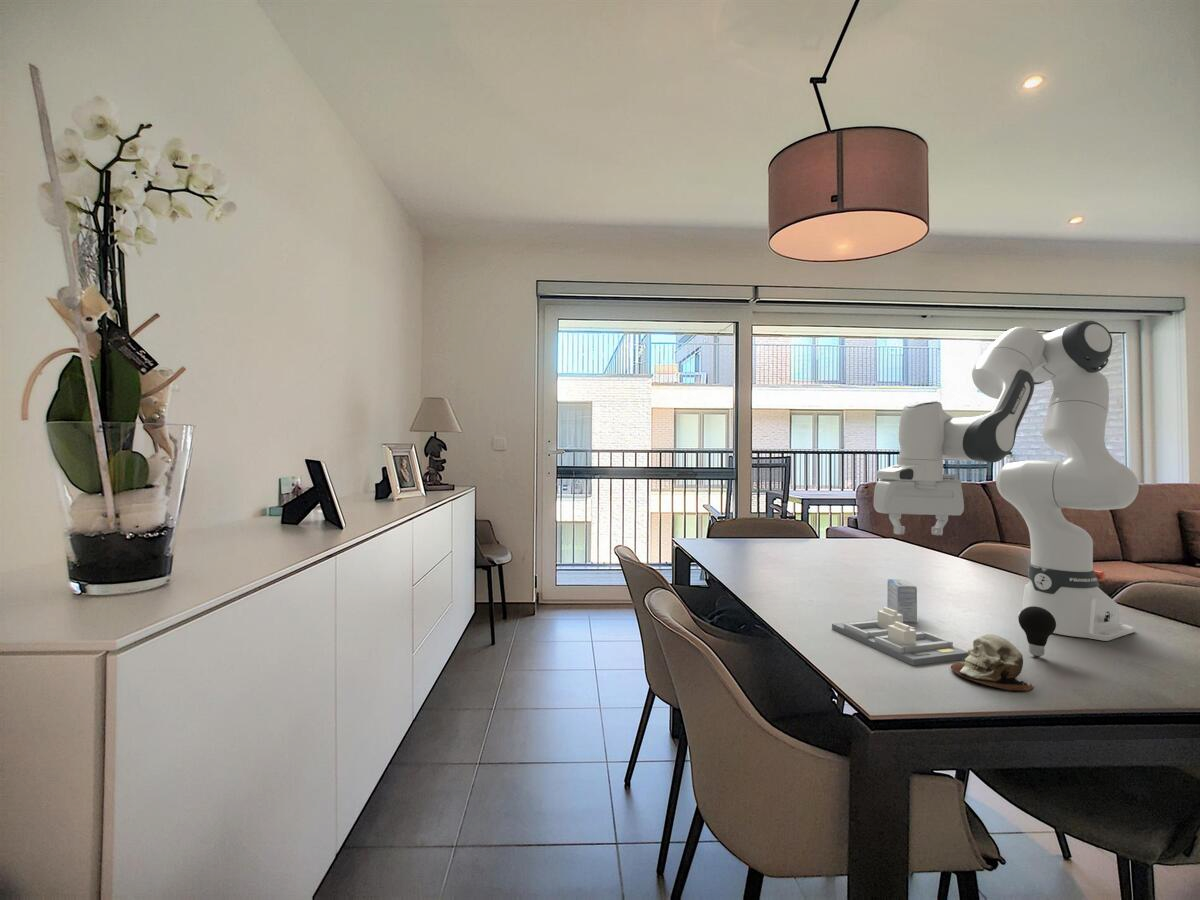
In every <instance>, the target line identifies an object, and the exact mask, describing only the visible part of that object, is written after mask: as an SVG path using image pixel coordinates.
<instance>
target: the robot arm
mask: <svg viewBox="0 0 1200 900" xmlns="http://www.w3.org/2000/svg"><path fill="white" fill-rule="evenodd" d="M1112 348H1113V338H1112V335H1111V333H1110V331H1109V330H1108V329H1107V327H1105V326H1104V325H1102V324H1101V323H1100V322H1098V321H1095V320H1084V321H1083V320H1082V321H1078V322H1073V323H1070V324H1068V325H1067V326H1065V327H1062V328H1058V329H1056V330H1054V331H1051V332H1049V333H1046V334H1041V332H1039V331H1038V330H1036V329H1034V328H1031V327H1027V326H1016V327H1014V328H1013V327H1012V328H1010V329H1008V330H1007V331H1004V333H1003V334H1001V335H1000V336H998V338H996V339H995V340H994V341H993V342H992V343H991V344H990V345H989V346H988V347H987V348H986V350H985V351H984V352H983V353H982V355H981V356H980V357H979V358H978V359H977V360H976V362H975V364H974V366H973V368H972V372H971V377H972V378H971V379H972V381H973V384H974V385H975V387H976V389H978V390H979V391H980V392H981V393H983V395H985V396H988V397H989V398H991V399H997V401H996V403H995V404H994V406H993V408H992V411H990V412H987V413H985V414H982V415H977V416H969V417H968V416H966V417H954V416H953V415H950V414H949V413H947V412H946V411H944V409H943V404H942V403H941V402H940V401H936V400H930V401H922V402H921V401H920V402H914V403H913V402H912V403H909V404H907V405H905V406H904V407H903V409H902V411H901V415H900V419H899V427H898V443H899V448H900V449H899V450H900V451H899V453H898V458H897V463H896V464H894V465H890V466H888V467H887V466H886V467H883V468H881V469H878V470H877V471H876V478H877V479H878V481H877V482H876V484H875V485H874V492H873V509H874V510H875V511H876V512H877V513H879V514H880V513H881V514H886V515H887V514H888V518H889V521H890V522H891V524H892V526H893V534H895V535H905V533H906V532H905V531H906V527H905V526H902V524H901V521H900V520H901V519H902V515H925V516H928V515H929V516H930V515H935V519H936V522H935V524H934V526H931V529H930V530H931V532H930V533H931V535H934V536H943V534H944V531H943V530H944V527H945V526H946V525H947V523H948V521H949V516H961V515H962V514H963V513H964V510H965V502H964V500H965V499H964V494H963V487H962V480H961V479H960V478H959V477H958V476H957V475H956V474H951V473H950V474H949V473H948V474H947V473H944V461H945V460H946V461H948V460H949V461H975V462H983V463H984V462H985V463H997V462H999V461H1001V460H1004V458H1005V457H1006V456H1007V455H1009V454H1010V453H1011V452H1012V451H1013V450H1012V449H1013V448H1014V446H1015V442H1016V437H1017V431H1018V428H1019V426H1020V424H1021V422H1022V420H1023V417H1024V415H1025V414H1026V411H1027V409H1028V407H1029V404H1030V403H1031V400H1032V397H1033V394H1034V390H1035V385H1041V384H1044V383H1045V382H1048V381H1051V383H1052V389H1053V391H1052V394H1051V396H1050V400H1049V404H1048V407H1047V412H1046V416H1045V419H1044V420H1045V421H1044V425H1043V430H1042V437H1043V440H1044V442H1045V443H1046V445H1048V446H1049V447H1050V448H1052V449H1053V450H1056V451H1057V452H1059V453H1062V454H1065V455H1067V458H1066V459H1064V460H1042V459H1040V460H1039V459H1038V460H1035V459H1034V460H1033V459H1032V460H1031V459H1030V460H1021V461H1013V462H1009V463H1008V462H1007V463H1005V464H1004V465H1003V466H1002V467H1001V468H1000V469H999V470H998V473H997V475H996V479H995V485H996V489H997V491H998V493H999V494H1000V496H1001V497H1002V498H1003V499H1004V500H1005V501H1007V502H1008V503H1009V504H1011V505H1012V506H1013V507H1014V508H1015V509H1016V510H1017V511H1018V512H1019V514H1020V515H1021V517H1022V518H1023V519H1024V521H1025V524H1026V527H1027V528H1028V533H1029V539H1030V540H1029V541H1030V563H1028V568H1027V573H1028V574H1027V577H1028V579H1029V582H1028V583H1026V584H1025V586H1024V590H1023V600H1022V604H1021V605H1022V606H1021V611H1022V610H1023V609H1025V608H1027V607H1031V606H1036V607H1041V608H1044V609H1046V610H1047V611H1049V612H1050V613H1051V614H1052V615H1053V617H1054V618H1055V621H1056V628H1055V630H1054V632H1053V633H1052V634H1057V635H1061V636H1067V637H1068V636H1069V637H1076V638H1084V639H1093V640H1097V641H1105V642H1108V641H1111V640H1115V639H1118V638H1121V637H1124V636H1127V635H1129V634H1133V633H1135V628H1134V627H1133V626H1131V625H1128V624H1126V623H1123V622H1121V619H1120V618H1121V617H1120V615H1121V614H1120V607H1119V604H1118V603H1117V602H1116V601H1115V600H1113V598H1111V597H1110V596H1109V595H1108V594H1107V593H1105V592H1104V591H1103V590H1102V589H1101V588H1100V587H1099V586H1100V584H1099V581H1098V580H1100V581H1105V580H1106V578H1107V575H1106V572H1105V571H1103V570H1101V571H1100V570H1095V569H1094V570H1093V568H1094V566H1093V565H1094V563H1093V561H1094V559H1093V558H1094V540H1093V538H1092V536H1091V535H1090V533H1088V532H1087V530H1085V529H1083V527H1081V526H1078V525H1076V524H1074V523H1072V522H1070V521H1068V520H1067V518H1066V517H1065V516H1064V514H1063V512H1062V509H1065V508H1066V509H1074V510H1075V509H1076V510H1085V511H1086V510H1087V511H1088V510H1089V511H1108V510H1121V509H1126V508H1127V507H1129V506H1130V505H1131V504H1132V503H1133V502H1134V501H1135V500H1136V498H1137V496H1138V493H1139V490H1140V483H1139V481H1138V478H1137V476H1136V475H1135V473H1134V472H1133V471H1132V469H1131V468H1129V467H1128V466H1126V465H1124V463H1121V462H1119V461H1118V460H1117V459H1115V458H1114V457H1113V455H1111V453H1110V452H1109V451H1108V449H1107V445H1106V442H1105V437H1106V435H1105V433H1106V423H1107V417H1108V412H1109V403H1110V391H1109V389H1110V388H1109V382H1108V379H1107V377H1106V376H1105V375H1104V374H1103V373H1102V372H1101V371H1102V370H1103V369H1104V368H1105V367H1106V366H1107V365H1108V363H1109V357H1110V355H1111V354H1112ZM1021 611H1018V612H1017V618H1019V614H1020V612H1021Z"/></svg>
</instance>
